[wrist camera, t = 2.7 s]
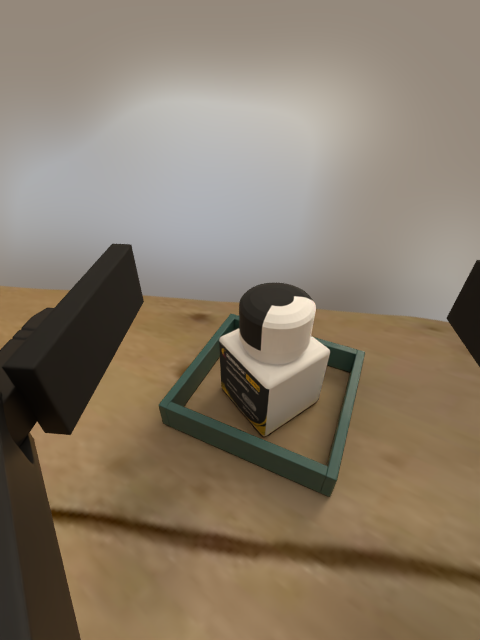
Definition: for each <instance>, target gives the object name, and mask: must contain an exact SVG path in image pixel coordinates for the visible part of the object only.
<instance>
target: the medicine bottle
mask: <svg viewBox="0 0 480 640" xmlns="http://www.w3.org/2000/svg"><path fill="white" fill-rule="evenodd" d="M315 311H316V306H315V303H314V302H313V300H312V299H311V297H310V296H309V295H308V294H307V293H306V292H305V291H303V290H302V289H300V288H298V287H295V286H293V285H289V284H284V283H265V284H260V285H257V286H255V287H253V288H251V289H249V290H248V291H247V292H246V293H245V294H244V295H243V296H242V298H241V300H240V304H239V329H237V330H234V331H232V332H230V333H228V334H226V335H224V336H221V337H220V339H219V348H220V367H221V387H222V389H223V390H224V391H225V392H226V394H227V395H228V396H229V397H230V398H231V399H232V401H233V402H234V403H235V404H236V405H237V407H238V408H239V409H240V410H241V411H242V412H243V414H244V415H245V416H246V417H247V418H248V420H249V421H250V422H251V423H252V424H253V425H254V427H255V428H256V429H257V430H258V431H259V433H260V434H261V435H262V436H267V435H268V434H270V433H271V432H273V431H274V430H276V429H277V428H279V427H280V426H281V425H283V424H284V423H286V422H287V421H289V420H290V419H292V418H293V417H295V416H296V415H298V414H299V413H301V412H302V411H304V410H305V409H307V408H308V407H309V406H311V405H312V404H314V403H315V402H317V401H318V399H319V395H320V391H321V387H322V383H323V379H324V375H325V371H326V367H327V363H328V359H329V355H330V350H329V349H328V348H327V347H326V346H324V345H323V344H322V343H320V342H319V341H318V340H316V339H315V338H314V337H312V336H311V333H312V327H313V322H314V317H315Z"/></svg>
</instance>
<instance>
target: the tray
mask: <svg viewBox="0 0 480 640" xmlns="http://www.w3.org/2000/svg"><path fill="white" fill-rule="evenodd" d="M237 329H239V316H238V315H234V314H230V315H229V317H228V318H227V319H226V320H225V322H224V323H223V324H222V325H221V327H220V328H219V329H218V331H217V332H216V333H215V334H214V336H213V337H212V338H211V339H210V341H209V342H208V343H207V344H206V346H205V347H204V348H203V349H202V351H201V352H200V353H199V355H198V356H197V357H196V358H195V360H194V361H193V362H192V363H191V365H190V366H189V367H188V368H187V370H186V371H185V372H184V373H183V375H182V376H181V377H180V378H179V380H178V381H177V382H176V384H175V385H174V386H173V387H172V389H171V390H170V391H169V392H168V394H167V395H166V396H165V397H164V399H163V400H162V401H161V402H160V404H159V409H160V413H161V417H162V421H163V423H164V424H166V425H168V426H170V427H173V428H175V429H177V430H179V431H182V432H184V433H186V434H188V435H191V436H193V437H195V438H197V439H200V440H202V441H204V442H206V443H209V444H211V445H213V446H215V447H218V448H220V449H222V450H224V451H227V452H229V453H231V454H233V455H236V456H238V457H240V458H243V459H245V460H247V461H249V462H252V463H254V464H256V465H258V466H261V467H263V468H265V469H267V470H270V471H272V472H274V473H276V474H279V475H281V476H283V477H285V478H288V479H290V480H292V481H294V482H297V483H299V484H301V485H303V486H306V487H308V488H310V489H313V490H315V491H317V492H320V493H322V494H324V495H326V496H329V497H330V496H331V493H332V491H333V489H334V486H335V484H336V481H337V478H338V473H339V469H340V464H341V460H342V455H343V450H344V446H345V441H346V437H347V432H348V428H349V423H350V419H351V414H352V410H353V405H354V401H355V396H356V391H357V387H358V382H359V378H360V373H361V369H362V364H363V360H364V355H365V352H364V351H360V350H357V349H353V348H350V347H346V346H343V345H339V344H336V343H332V342H329V341H325V340H322V339H318V338H315V337H314V338H315V339H316V340H318V341H319V342H320V343H322V344H323V345H324V346H326V347H327V348H328V349H329V350H330V355H329V359H328V363H327V365H328V366H332V367H335V368H338V369H341V370H345V371H348V372H350V376H349V380H348V384H347V388H346V392H345V396H344V400H343V404H342V408H341V411H340V415H339V419H338V423H337V427H336V431H335V435H334V439H333V443H332V447H331V451H330V455H329V459H328V463H327V466H326V465H323V464H321V463H318V462H316V461H314V460H311V459H309V458H306V457H304V456H301V455H299V454H297V453H294V452H292V451H289V450H287V449H284V448H282V447H280V446H277V445H275V444H272V443H270V442H268V441H265V440H263V439H260V438H258V437H255V436H253V435H251V434H248V433H246V432H243V431H241V430H238V429H236V428H234V427H231V426H229V425H226V424H224V423H221V422H219V421H217V420H214V419H212V418H209V417H207V416H205V415H202V414H200V413H197V412H195V411H192V410H190V409H188V408H185V407H184V405H185V404H186V403H187V401H188V400H189V399H190V397H191V396H192V394H193V393H194V392H195V390H196V389H197V387H198V386H199V385H200V383H201V382H202V380H203V379H204V378H205V376H206V375H207V373H208V372H209V371H210V369H211V368H212V366H213V365H214V364H215V362H216V361H217V359H218V358H219V357H220V348H219V339H220V337H221V336H224V335H226V334H228V333H230V332H232V331H234V330H237Z"/></svg>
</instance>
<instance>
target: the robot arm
mask: <svg viewBox="0 0 480 640" xmlns="http://www.w3.org/2000/svg"><path fill="white" fill-rule="evenodd" d="M143 302H144V301H143V296H142V292H141V287H140V283H139V278H138V274H137V269H136V264H135V260H134V255H133V251H132V246H131V245H129V244H112V245H111V246H110V247H109V248H108V249H107V250H106V251H105V253H104V254H103V255H102V256H101V257H100V258H99V259H98V260H97V261H96V262H95V264H94V265H93V266H92V267H91V268H90V269H89V270H88V271H87V273H86V274H85V275H84V276H83V277H82V278H81V279H80V280H79V281H78V283H76V285H75V286H74V287H73V288H72V289H71V290H70V291H69V292H68V293H67V295H66V296H65V297H64V298H63V299H62V300H61V301H60V302H59V303H58V305H57V306H56V307H55V308H46V309H44V310H42V311H41V312H39V313H37V314H36V315H34V316H33V317H31V318H30V319H29V320H28V321H27V323H26V324H25V325H24V326H23V327H22V329H21V330H19V331H18V332H17V333H16V334H15V335H14V336H13V339H10V340H9V341H8V342H7V343H6V344H5V346H4V347H3V348H2V349H1V350H0V640H81V639H80V634H79V630H78V626H77V622H76V617H75V613H74V609H73V605H72V600H71V596H70V592H69V587H68V583H67V579H66V575H65V570H64V566H63V562H62V558H61V553H60V549H59V545H58V540H57V536H56V532H55V528H54V523H53V519H52V515H51V511H50V506H49V502H48V498H47V493H46V489H45V485H44V481H43V476H42V472H41V468H40V464H39V459H38V455H37V451H36V446H35V442H34V439H33V437H32V435H31V434H30V431H31V429H32V428H33V426H34V425H35V423H36V422H37V421H38V423H39V424H40V426H41V427H42V429H43V430H44V432H45V433H54V434H66V435H71V433H72V431H73V430H74V428H75V426H76V424H77V422H78V421H79V419H80V417H81V415H82V413H83V411H84V410H85V408H86V406H87V404H88V402H89V400H90V399H91V397H92V395H93V393H94V391H95V390H96V388H97V386H98V384H99V382H100V380H101V379H102V377H103V375H104V373H105V371H106V369H107V368H108V366H109V364H110V362H111V360H112V359H113V357H114V355H115V353H116V351H117V349H118V348H119V346H120V344H121V342H122V340H123V338H124V337H125V335H126V333H127V331H128V329H129V328H130V326H131V324H132V322H133V320H134V318H135V317H136V315H137V313H138V311H139V309H140V307H141V306H142V304H143ZM447 320H448V321H449V323H450V324H451V326H452V327H453V329H454V330H455V332H456V333H457V334H458V336H459V337H460V339H461V340H462V342H463V343H464V345H465V346H466V348H467V349H468V351H469V352H470V354H471V355H472V357H473V358H474V359H475V361H476V362H477V364H478V365H479V367H480V260H477V261H476V263H475V265H474V267H473V269H472V271H471V273H470V274H469V276H468V278H467V280H466V282H465V284H464V286H463V288H462V290H461V292H460V294H459V295H458V297H457V299H456V301H455V303H454V305H453V307H452V309H451V311H450V313H449V315H448V317H447Z"/></svg>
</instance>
